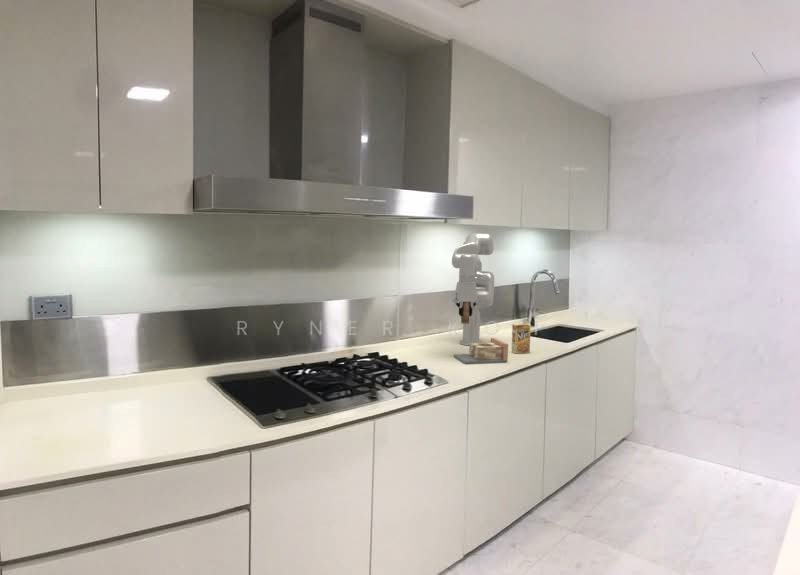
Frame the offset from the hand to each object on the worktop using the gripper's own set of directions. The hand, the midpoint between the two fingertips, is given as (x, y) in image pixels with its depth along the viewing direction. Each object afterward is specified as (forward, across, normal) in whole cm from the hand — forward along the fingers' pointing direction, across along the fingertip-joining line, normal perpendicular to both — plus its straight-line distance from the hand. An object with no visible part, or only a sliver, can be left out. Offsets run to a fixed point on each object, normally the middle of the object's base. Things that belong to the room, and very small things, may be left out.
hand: (465, 315), depth 253 cm
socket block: (+20, -9, +6) cm, 23 cm away
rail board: (+21, -6, +6) cm, 23 cm away
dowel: (+4, 0, 0) cm, 4 cm away
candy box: (+21, -34, -7) cm, 41 cm away
